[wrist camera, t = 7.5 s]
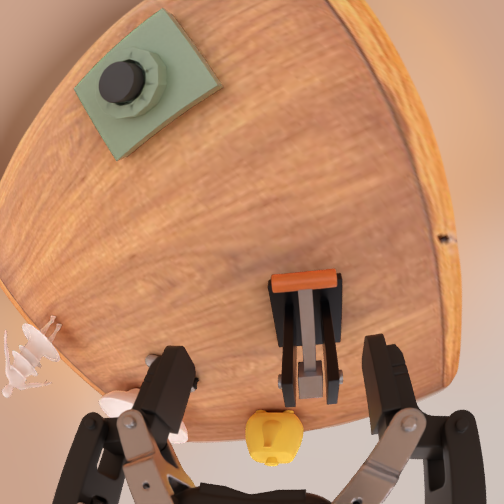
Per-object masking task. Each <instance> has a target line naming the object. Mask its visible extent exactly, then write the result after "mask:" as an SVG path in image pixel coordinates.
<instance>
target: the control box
mask: <svg viewBox="0 0 504 504" xmlns="http://www.w3.org/2000/svg"><path fill="white" fill-rule="evenodd" d="M119 61H122V62H128V63H133V64H136V65H138V66H139V67H140V68H141V70H142V72H143V75H144V83H143V86H142V89H141V91H140V92H139V94H138V95H137V96H136V97H135V98H133V99H132V100H130V101H127V102H117V103H110V102H107V101H105V100H104V99H103V98H102V96H101V95H100V92H99V80H100V77H101V75H102V73H103V71H104V70H105V69H106V68H107V67H108V66H109V65H111V64H112V63H115V62H119ZM221 88H223V85H222V84H221V82H220V81H219V79H218V78H217V76H216V75H215V73H214V72H213V70H212V69H211V68H210V66H209V65H208V63H207V62H206V60H205V59H204V57H203V56H202V55H201V53H200V52H199V50H198V49H197V48H196V46H195V45H194V43H193V42H192V41H191V39H190V38H189V36H188V35H187V34H186V32H185V31H184V30H183V28H182V27H181V26H180V24H179V23H178V22H177V20H176V19H175V18H174V16H173V15H172V14H171V13H169V12H168V11H166V10H165V9H163V8H162V9H161V10H159V11H158V12H156V13H155V14H154V15H152V16H151V17H150V18H148V19H147V20H146V21H144V22H143V23H142V24H140V25H139V26H138V27H137V28H135V29H134V30H133V31H132V32H131V33H129V34H128V35H127V36H126V37H125V38H124V39H122V40H121V41H120V42H119V43H118V44H117V45H116V46H115V47H114V48H112V49H111V50H110V51H109V52H108V53H107V54H106V55H105V56H104V57H103V58H102V59H101V60H100V61H99V62H98V63H97V64H96V65H95V66H94V67H93V68H92V69H91V70H90V71H89V72H88V73H87V74H86V76H85V77H84V78H83V79H82V80H81V81H80V82H79V83H78V84H77V86H76V87H75V88H74V90H75V92H76V94H77V96H78V97H79V99H80V101H81V103H82V105H83V106H84V108H85V110H86V111H87V113H88V115H89V117H90V118H91V120H92V122H93V123H94V125H95V127H96V129H97V130H98V132H99V134H100V135H101V137H102V138H103V140H104V142H105V143H106V145H107V147H108V148H109V150H110V151H111V153H112V155H113V156H114V158H115V159H116V161H118V160H120V159H123V158H125V157H128V156H129V155H130V154H131V153H132V152H134V151H135V150H136V149H137V148H138V147H140V146H141V145H142V144H143V143H144V142H146V141H147V140H148V139H149V138H151V137H152V136H153V135H155V134H156V133H157V132H158V131H160V130H161V129H162V128H164V127H165V126H166V125H168V124H169V123H170V122H172V121H173V120H175V119H176V118H177V117H179V116H180V115H182V114H183V113H184V112H186V111H187V110H189V109H190V108H192V107H193V106H195V105H196V104H198V103H199V102H201V101H202V100H204V99H205V98H207V97H208V96H210V95H212V94H213V93H215V92H216V91H218V90H220V89H221Z"/></svg>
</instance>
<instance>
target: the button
mask: <svg viewBox="0 0 504 504" xmlns="http://www.w3.org/2000/svg"><path fill="white" fill-rule="evenodd" d="M143 83H144V75H143V72H142V70H141V68H140V67H139V66H138V65H136V64H133V63H128V62H122V61H119V62H115V63H112V64H111V65H109V66H108V67H107V68H106V69H105V70H104V71H103V73H102V75H101V77H100V80H99V92H100V95H101V96H102V98H103V99H104V100H105V101H107V102H110V103H117V102H127V101H130V100H132V99H133V98H135V97H136V96H137V95H138V94H139V92H140V91H141V89H142V86H143Z"/></svg>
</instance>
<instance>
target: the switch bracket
mask: <svg viewBox="0 0 504 504" xmlns="http://www.w3.org/2000/svg"><path fill="white" fill-rule="evenodd" d="M336 275H337V287H332V288H322V289H312V295H313V309H314V326H315V345H317V344H323V355H324V368H325V381H326V398H327V404H337V400H338V392H339V384H342V383H343V372H342V370H339V368H338V360H337V352H336V344H335V343H337V342H340V341H341V320H342V276H341V273H338V274H336ZM268 290H269V296H270V301H271V307H272V312H273V318H274V323H275V329H276V334H277V340H278V345H279V347H283V356H282V374H280V375H278V387H279V389H282V392H283V397H284V402H285V407H296V361H297V346H302V333H301V320H300V308H299V297H298V291H291V292H279V293H273V291H272V284H271V280H269V281H268Z"/></svg>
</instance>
